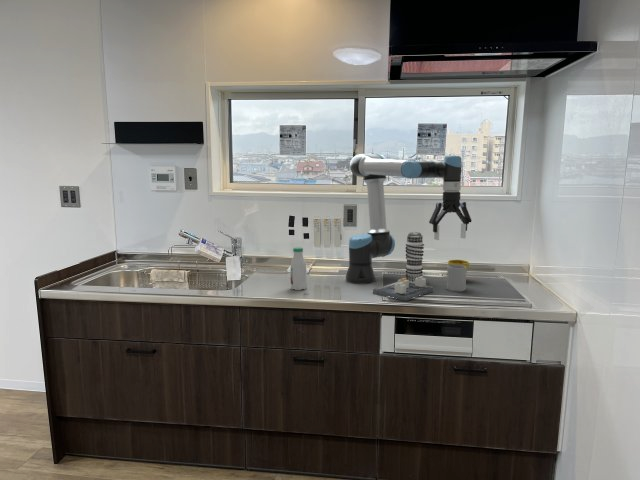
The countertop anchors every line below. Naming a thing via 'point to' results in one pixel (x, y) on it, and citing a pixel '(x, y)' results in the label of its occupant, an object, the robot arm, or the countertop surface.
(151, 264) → the countertop surface
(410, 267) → the decorative candle
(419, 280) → the breaker right
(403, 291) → the breaker left
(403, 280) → the breaker mid
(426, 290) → the panel
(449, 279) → the mug
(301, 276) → the milk bottle
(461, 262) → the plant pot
